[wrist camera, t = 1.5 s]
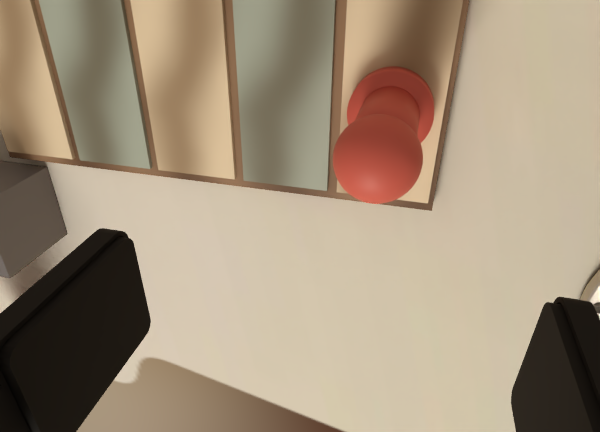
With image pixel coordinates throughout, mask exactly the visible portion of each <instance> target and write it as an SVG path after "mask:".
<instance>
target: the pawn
mask: <svg viewBox="0 0 600 432" xmlns="http://www.w3.org/2000/svg"><path fill="white" fill-rule="evenodd" d="M433 120H434V99H433V95H432V92H431V89H430V87H429V86H428V84H427V83H426V81H425V80H424V79H423V78H422V77H421V76H420V75H418V74H417V73H415V72H414V71H412V70H409V69H407V68H403V67H397V66H389V67H383V68H380V69H377V70H375V71H373V72H371V73H369V74H368V75H367V76H365V77H364V78H363V79H362V80H361V81H360V83H359V84H358V85H357V87H356V89H355V90H354V92H353V94H352V95H351V98H350V100H349V103H348V107H347V122H348V126H347V127H346V128H345V129H344V131H343V132H342V133H341V134H340V136H339V138H338V140H337V142H336V144H335V148H334V151H333V168H334V172H335V175H336V178H337V180H338V182H339V183H340V185H341V186H342V187H343V189H344V190H345V191H346V192H347V193H348V194H350V195H351V196H352V197H354V198H356V199H358V200H360V201H363V202H366V203H372V204H381V203H387V202H391V201H394V200H396V199H398V198H400V197H402V196H403V195H404V194H406V193H407V192H408V191H409V190H410V189H411V188H412V187H413V186H414V184H415V183H416V181H417V179H418V178H419V175H420V173H421V169H422V165H423V151H422V146H421V143H422V142H423V140H424V139H425V138H426V137H427V135H428V134H429V132H430V130H431V127H432V124H433Z"/></svg>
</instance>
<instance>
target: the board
mask: <svg viewBox="0 0 600 432" xmlns="http://www.w3.org/2000/svg"><path fill="white" fill-rule="evenodd" d="M468 5H469V0H0V130H1V133H2V136H3V139H4V141H5V144H6V147H7V150H8V152H9V155H10V157H14V158H22V159H30V160H38V161H46V162H53V163H61V164H69V165H77V166H85V167H93V168H101V169H108V170H116V171H124V172H132V173H140V174H148V175H156V176H163V177H171V178H179V179H187V180H195V181H203V182H211V183H218V184H226V185H234V186H242V187H250V188H258V189H266V190H273V191H281V192H289V193H297V194H305V195H313V196H321V197H328V198H336V199H344V200H352V201H360V200H358V199H356V198H354V197H352V196H351V195H350V194H348V193H347V192H346V191H345V190H344V189H343V187H342V186H341V185H340V183H339V182H338V180H337V178H336V175H335V172H334V168H333V151H334V148H335V144H336V142H337V140H338V138H339V136H340V134H341V133H342V132H343V131H344V129H345V128H346V127H347V126H348V122H347V107H348V103H349V100H350V98H351V95H352V94H353V92H354V90H355V89H356V87H357V85H358V84H359V83H360V81H361V80H362V79H363V78H364V77H365V76H367V75H368V74H369V73H371V72H373V71H375V70H377V69H380V68H383V67H389V66H397V67H403V68H407V69H409V70H412V71H414V72H415V73H417V74H418V75H420V76H421V77H422V78H423V79H424V80H425V81H426V83H427V84H428V86H429V87H430V89H431V92H432V95H433V99H434V120H433V124H432V127H431V130H430V132H429V134H428V135H427V137H426V138H425V139H424V140H423V142H422V143H421V146H422V151H423V165H422V169H421V173H420V175H419V178H418V179H417V181H416V183H415V184H414V186H413V187H412V188H411V189H410V190H409V191H408V192H407V193H406V194H404V195H403V196H402V197H400V198H398V199H396V200H394V201H391V202H387V203H381V204H383V205H391V206H399V207H407V208H415V209H423V210H431V211H432V206H433V201H434V195H435V190H436V184H437V178H438V173H439V167H440V162H441V156H442V150H443V145H444V139H445V134H446V128H447V123H448V117H449V111H450V106H451V100H452V95H453V89H454V84H455V78H456V72H457V67H458V61H459V56H460V50H461V45H462V39H463V33H464V28H465V22H466V17H467V11H468ZM360 202H363V201H360Z"/></svg>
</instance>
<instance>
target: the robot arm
mask: <svg viewBox="0 0 600 432" xmlns="http://www.w3.org/2000/svg"><path fill="white" fill-rule="evenodd" d="M150 322H151V321H150V315H149V310H148V306H147V301H146V297H145V292H144V288H143V283H142V279H141V274H140V270H139V265H138V261H137V256H136V252H135V247H134V243H133V241H132V240H131V239H129V238H128V235H127V234H126V233H125V232H123V231H117V230H110V229H104V228H103V229H99V230H97V231H96V232H94V233H93V234H92V235H91V236H90V237H89V238H87V239H86V240H85V241H84V242H83V243H82V244H81V245H79V246H78V247H77V248H76V249H75V250H74V251H72V252H71V253H70V254H69V255H68V256H67V257H65V258H64V259H63V260H62V261H61V262H60V263H58V264H57V265H56V266H55V267H54V268H53V269H51V270H50V271H49V272H48V273H47V274H46V275H45V276H43V277H42V278H41V279H40V280H39V281H38V282H36V283H35V284H34V285H33V286H32V287H31V288H29V289H28V290H27V291H26V292H25V293H24V294H22V295H21V296H20V297H19V298H18V299H17V300H15V301H14V302H13V303H12V304H11V305H10V306H9V307H7V308H6V309H5V310H4V311H3V312H2V313H0V432H76V431H77V430H78V428H79V427H80V426H81V424H82V423H83V421H84V420H85V419H86V417H87V416H88V414H89V413H90V412H91V410H92V409H93V408H94V406H95V405H96V403H97V402H98V401H99V399H100V398H101V397H102V395H103V394H104V392H105V391H106V390H107V388H108V387H109V386H110V384H111V383H112V381H113V380H114V379H115V377H116V376H117V374H118V373H119V372H120V370H121V369H122V368H123V366H124V365H125V363H126V362H127V361H128V359H129V358H130V357H131V355H132V354H133V352H134V351H135V350H136V348H137V347H138V345H139V344H140V343H141V341H142V340H143V339H144V337H145V336H146V334H147V333H148V331H149V328H150ZM511 404H512V411H513V417H514V422H515V428H516V432H600V270H598V272H597V273H596V274H595V275H594V277H593V278H592V279H591V280H590V282H589V283H588V284H587V286H586V288H585V290H584V292H583V294H582V296H581V298H580V300H577V299H571V298H564V297H557V299H556V300H555V301H554V303H549V302H547V303H545V305H544V307H543V309H542V312H541V314H540V317H539V320H538V322H537V325H536V328H535V330H534V333H533V336H532V338H531V341H530V344H529V346H528V349H527V352H526V354H525V357H524V360H523V362H522V365H521V368H520V370H519V373H518V376H517V378H516V381H515V384H514V386H513V390H512V396H511Z"/></svg>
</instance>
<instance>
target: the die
mask: <svg viewBox="0 0 600 432" xmlns="http://www.w3.org/2000/svg"><path fill="white" fill-rule="evenodd" d="M65 235H67V232H66V228H65V225H64V222H63V218H62V215H61V212H60V208H59V205H58V202H57V198H56V195H55V192H54V188H53V185H52V182H51V179H50V175H49V172H48V169H47V167H43V166H35V165H27V164H20V163H12V162H4V161H0V276H1V277H6V278H11V277H12V276H14V275H15V274H16V273H17V272H19V271H20V270H21V269H23V268H24V267H25V266H27V265H28V264H29V263H30V262H32V261H33V260H34V259H36V258H37V257H38V256H39V255H41V254H42V253H43V252H45V251H46V250H47V249H49V248H50V247H51V246H52V245H54V244H55V243H56V242H58V241H59V240H60V239H61V238H63V237H64V236H65Z"/></svg>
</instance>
